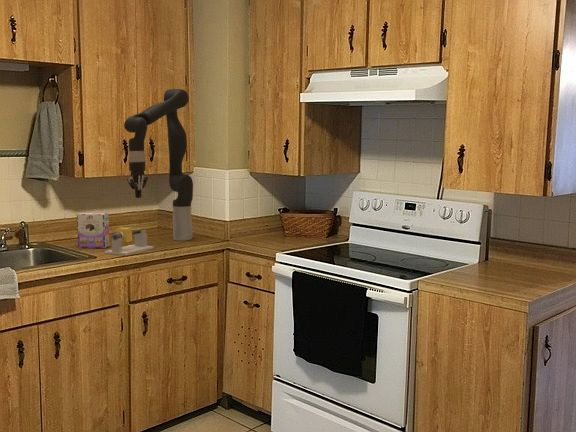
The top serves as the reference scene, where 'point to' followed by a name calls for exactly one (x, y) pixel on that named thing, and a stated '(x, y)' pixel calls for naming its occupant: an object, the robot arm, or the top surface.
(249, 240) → the top surface
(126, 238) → the marker sleeve
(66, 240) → the top surface
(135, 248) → the stand
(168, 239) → the top surface
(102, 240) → the candy box
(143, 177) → the robot arm
